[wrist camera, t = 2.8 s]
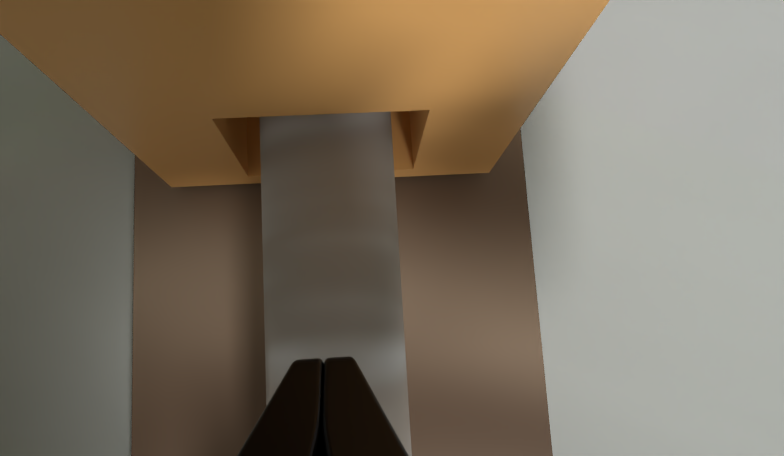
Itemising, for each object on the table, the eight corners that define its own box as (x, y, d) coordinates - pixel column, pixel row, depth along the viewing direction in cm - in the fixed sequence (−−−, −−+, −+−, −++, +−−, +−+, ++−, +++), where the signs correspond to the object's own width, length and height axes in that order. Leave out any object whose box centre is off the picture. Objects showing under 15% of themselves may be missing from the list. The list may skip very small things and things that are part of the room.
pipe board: (562, 667, 16) (688, 861, 10) (142, 704, 16) (-2, 934, 10) (479, -197, 21) (531, -436, 15) (150, -192, 20) (55, -438, 14)
